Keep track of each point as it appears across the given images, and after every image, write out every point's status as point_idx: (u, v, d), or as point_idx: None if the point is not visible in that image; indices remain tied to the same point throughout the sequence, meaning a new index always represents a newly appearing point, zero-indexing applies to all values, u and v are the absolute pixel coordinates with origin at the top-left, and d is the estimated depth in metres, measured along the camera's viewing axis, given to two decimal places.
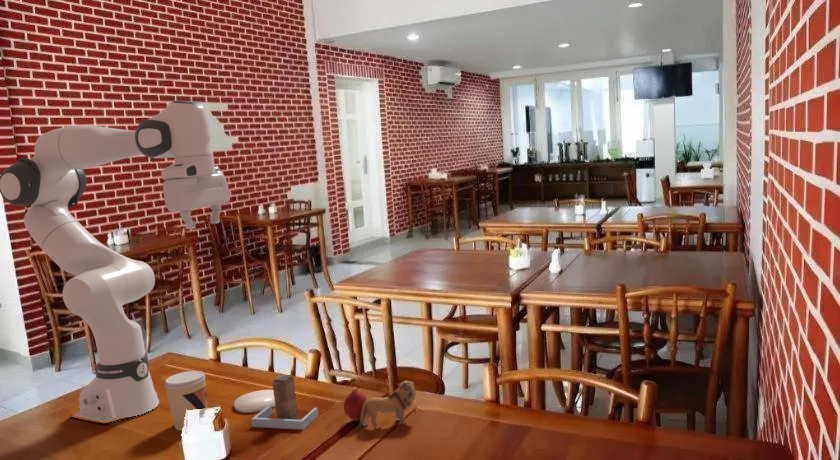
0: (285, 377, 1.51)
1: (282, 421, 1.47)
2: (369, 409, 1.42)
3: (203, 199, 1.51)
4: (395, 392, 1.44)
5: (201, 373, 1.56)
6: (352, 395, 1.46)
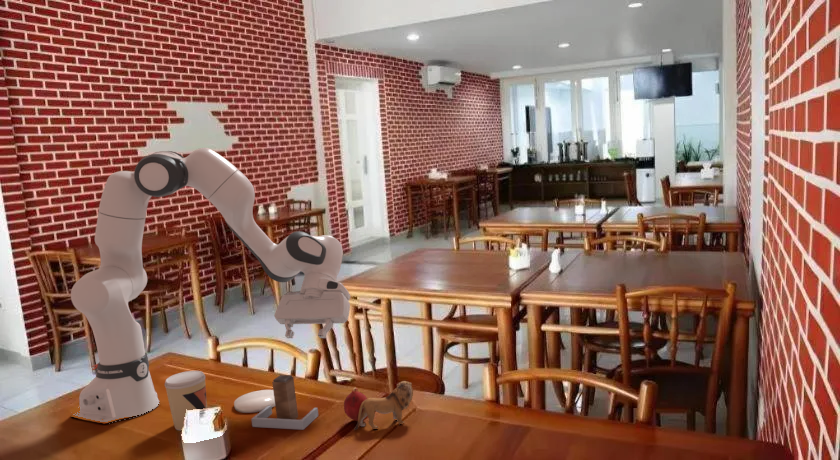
0: (285, 377, 1.51)
1: (282, 421, 1.47)
2: (367, 410, 1.42)
3: None
4: (393, 392, 1.43)
5: (201, 373, 1.56)
6: (352, 395, 1.46)
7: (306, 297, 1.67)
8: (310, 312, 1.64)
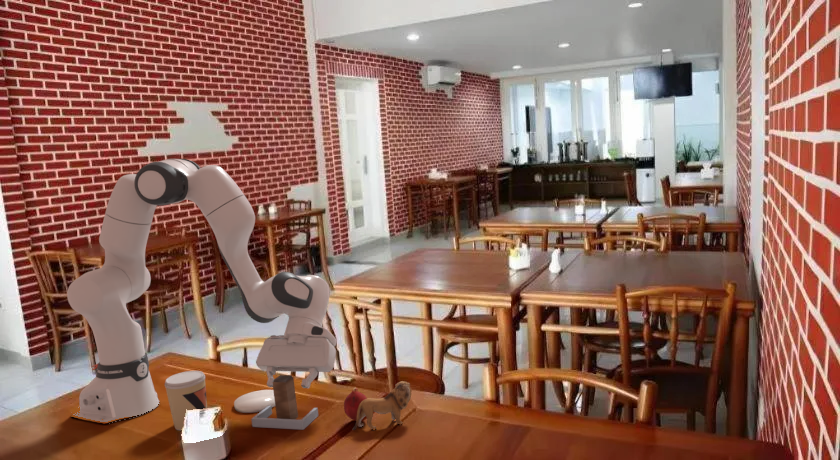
0: (285, 377, 1.51)
1: (282, 421, 1.47)
2: (365, 410, 1.42)
3: None
4: (391, 393, 1.43)
5: (201, 373, 1.56)
6: (352, 395, 1.46)
7: (289, 343, 1.58)
8: (293, 359, 1.55)
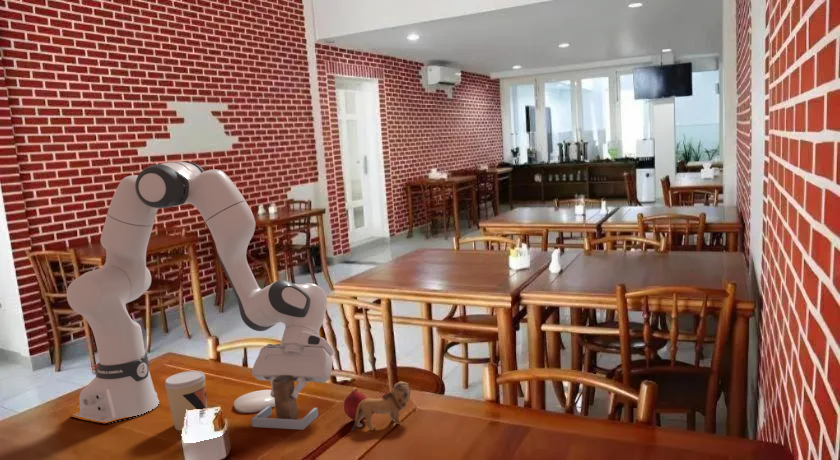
0: (285, 377, 1.51)
1: (282, 421, 1.47)
2: (364, 410, 1.42)
3: None
4: (390, 393, 1.43)
5: (201, 373, 1.56)
6: (352, 395, 1.46)
7: (286, 352, 1.56)
8: (289, 369, 1.53)
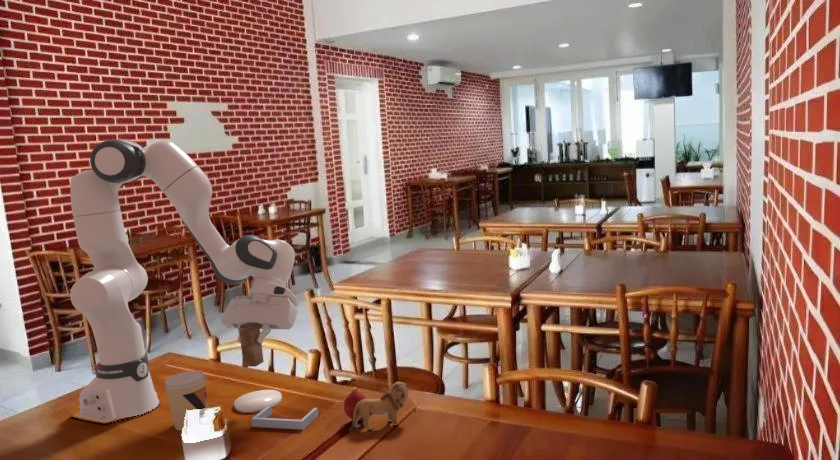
0: (251, 324, 1.61)
1: (282, 421, 1.47)
2: (361, 411, 1.42)
3: None
4: (387, 393, 1.43)
5: (201, 373, 1.56)
6: (352, 395, 1.46)
7: (253, 302, 1.66)
8: (256, 317, 1.63)
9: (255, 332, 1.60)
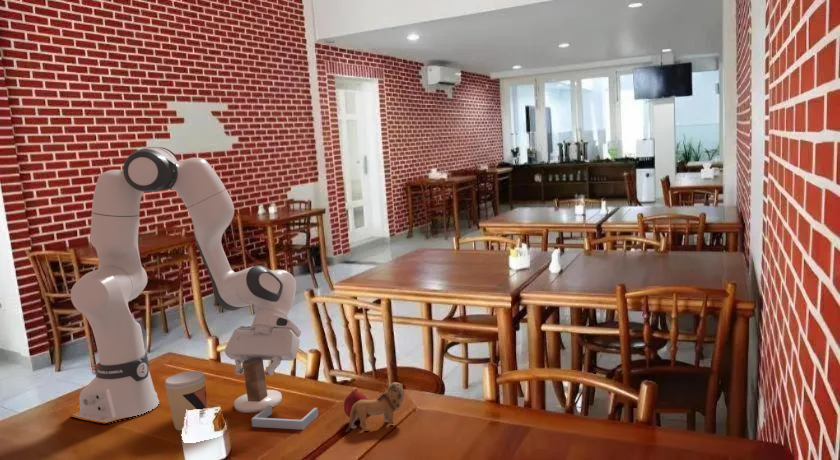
0: (255, 359, 1.63)
1: (282, 421, 1.47)
2: (358, 412, 1.41)
3: None
4: (384, 394, 1.43)
5: (201, 373, 1.56)
6: (352, 395, 1.46)
7: (256, 333, 1.68)
8: (259, 348, 1.65)
9: (259, 367, 1.63)
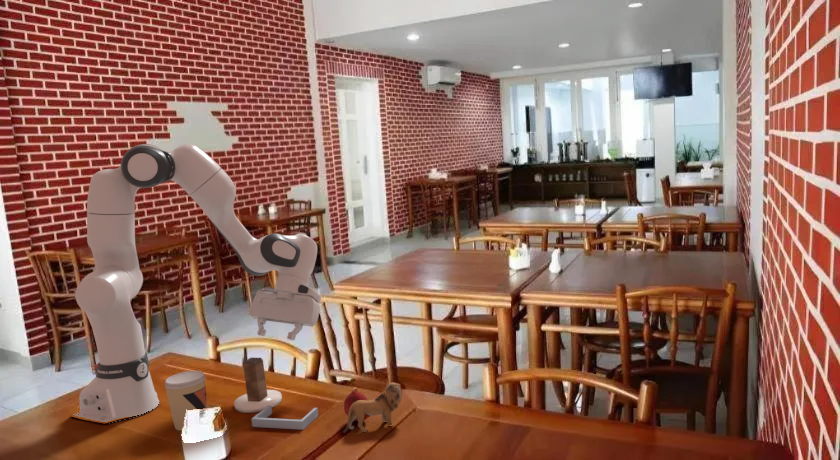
0: (255, 359, 1.63)
1: (282, 421, 1.47)
2: (356, 412, 1.41)
3: None
4: (382, 394, 1.43)
5: (201, 373, 1.56)
6: (352, 395, 1.46)
7: (278, 297, 1.75)
8: (281, 313, 1.73)
9: (259, 367, 1.63)
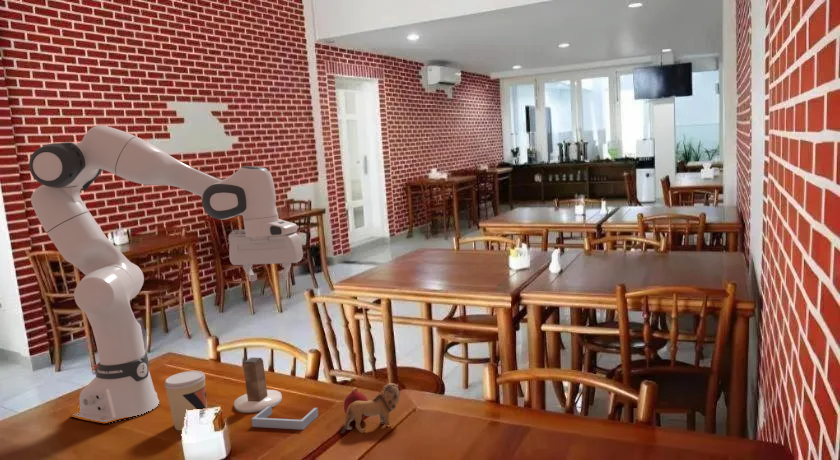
0: (255, 359, 1.63)
1: (282, 421, 1.47)
2: (354, 413, 1.41)
3: None
4: (380, 395, 1.43)
5: (201, 373, 1.56)
6: (352, 395, 1.46)
7: (254, 242, 1.63)
8: (264, 258, 1.63)
9: (259, 367, 1.63)
